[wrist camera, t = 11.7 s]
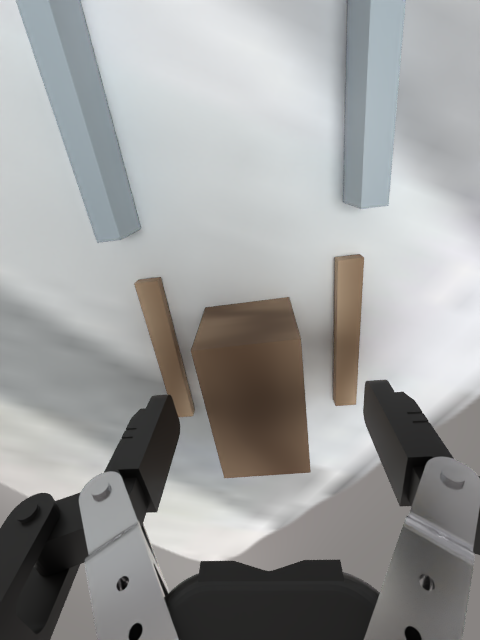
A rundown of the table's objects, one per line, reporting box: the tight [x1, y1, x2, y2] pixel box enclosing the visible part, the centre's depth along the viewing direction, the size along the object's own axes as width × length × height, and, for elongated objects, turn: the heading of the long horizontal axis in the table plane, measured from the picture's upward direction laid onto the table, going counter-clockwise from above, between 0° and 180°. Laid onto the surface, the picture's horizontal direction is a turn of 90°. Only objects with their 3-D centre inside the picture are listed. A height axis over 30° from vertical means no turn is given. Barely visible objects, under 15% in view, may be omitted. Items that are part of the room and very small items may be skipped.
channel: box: [16, 0, 406, 243], centre depth 10 cm, size 12×12×2 cm
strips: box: [135, 254, 364, 417], centre depth 17 cm, size 11×9×1 cm
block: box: [191, 297, 310, 478], centre depth 16 cm, size 4×8×4 cm, turn 9°
